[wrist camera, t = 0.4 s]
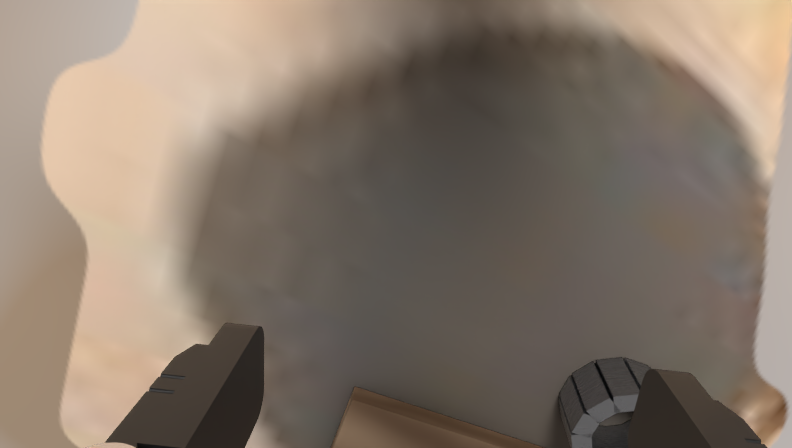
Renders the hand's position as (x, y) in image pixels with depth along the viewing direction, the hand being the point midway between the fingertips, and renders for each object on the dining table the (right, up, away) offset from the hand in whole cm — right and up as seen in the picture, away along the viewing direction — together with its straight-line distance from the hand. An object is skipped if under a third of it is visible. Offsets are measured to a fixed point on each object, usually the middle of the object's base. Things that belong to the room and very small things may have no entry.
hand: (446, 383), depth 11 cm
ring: (+12, -7, +21) cm, 25 cm away
